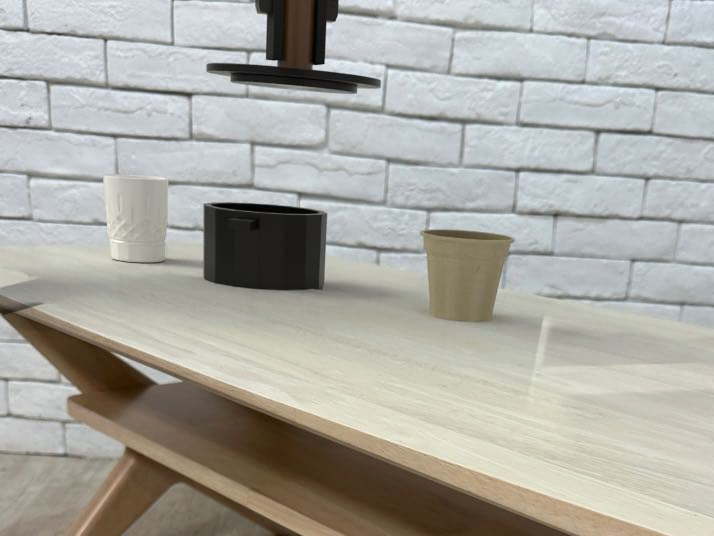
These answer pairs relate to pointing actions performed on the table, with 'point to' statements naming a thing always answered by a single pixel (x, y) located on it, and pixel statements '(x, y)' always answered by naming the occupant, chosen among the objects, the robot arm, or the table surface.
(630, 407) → the table surface
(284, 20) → the pot lid
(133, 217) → the white cup
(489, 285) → the flower pot
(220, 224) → the pot
